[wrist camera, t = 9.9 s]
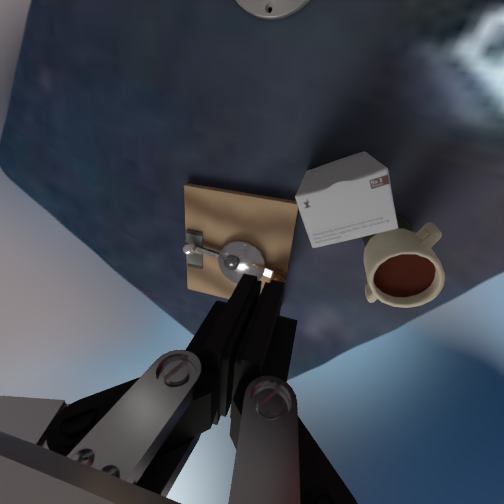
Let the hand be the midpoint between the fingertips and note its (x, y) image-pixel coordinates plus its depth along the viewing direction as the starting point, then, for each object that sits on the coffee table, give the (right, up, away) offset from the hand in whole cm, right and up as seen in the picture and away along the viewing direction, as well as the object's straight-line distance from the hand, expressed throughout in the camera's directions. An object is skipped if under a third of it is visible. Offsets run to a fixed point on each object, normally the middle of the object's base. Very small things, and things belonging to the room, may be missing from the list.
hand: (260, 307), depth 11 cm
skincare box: (+12, +12, +27) cm, 32 cm away
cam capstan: (-3, +1, +35) cm, 35 cm away
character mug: (+19, +5, +28) cm, 34 cm away
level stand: (-3, +3, +36) cm, 36 cm away
